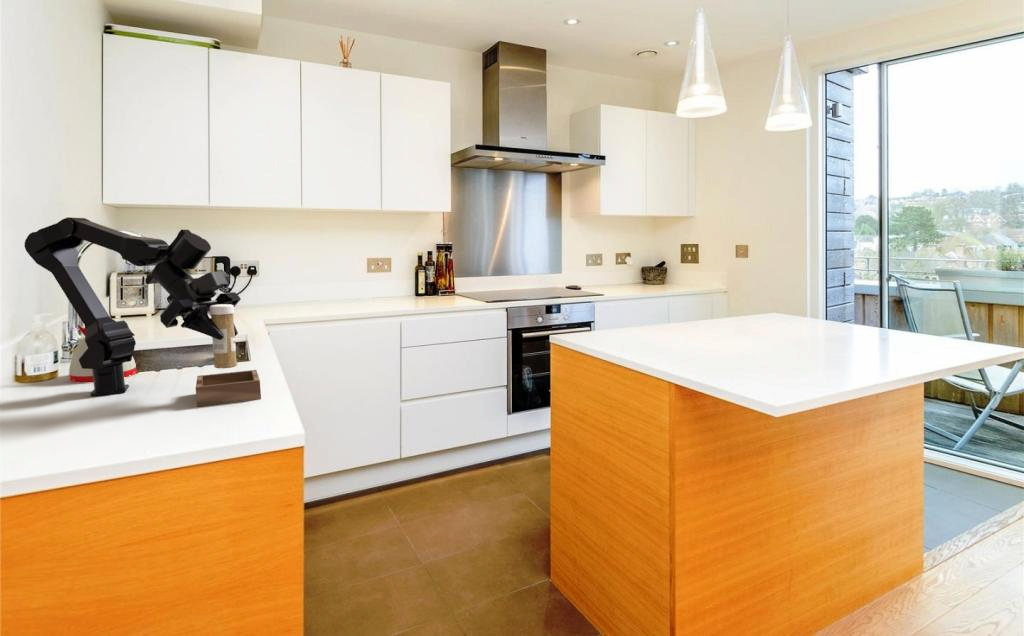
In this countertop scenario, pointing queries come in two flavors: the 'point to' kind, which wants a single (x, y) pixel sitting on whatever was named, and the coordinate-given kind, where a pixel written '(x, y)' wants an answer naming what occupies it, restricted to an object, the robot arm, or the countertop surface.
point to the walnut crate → (227, 388)
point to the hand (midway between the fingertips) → (229, 336)
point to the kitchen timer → (86, 374)
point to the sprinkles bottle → (226, 346)
